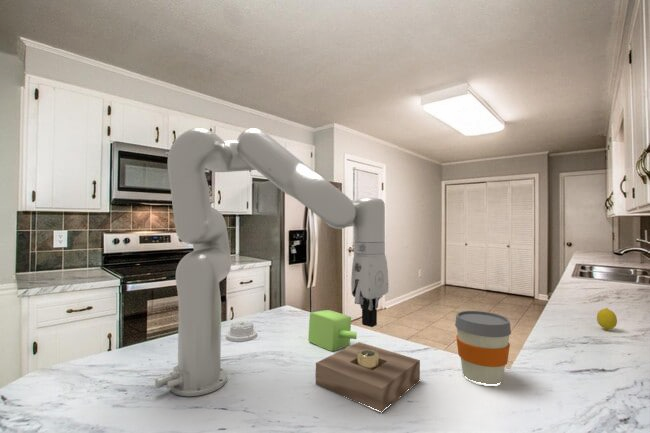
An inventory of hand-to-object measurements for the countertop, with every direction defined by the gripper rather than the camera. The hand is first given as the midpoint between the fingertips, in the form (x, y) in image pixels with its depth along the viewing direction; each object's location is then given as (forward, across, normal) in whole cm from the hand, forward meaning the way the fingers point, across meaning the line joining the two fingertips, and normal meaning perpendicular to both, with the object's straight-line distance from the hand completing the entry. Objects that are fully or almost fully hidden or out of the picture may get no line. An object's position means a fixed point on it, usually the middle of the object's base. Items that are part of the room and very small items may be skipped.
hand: (369, 325), depth 78 cm
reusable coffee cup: (+14, +21, -20) cm, 32 cm away
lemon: (+15, +90, -44) cm, 101 cm away
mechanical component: (+14, -2, +49) cm, 51 cm away
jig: (+14, 0, 0) cm, 14 cm away
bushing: (+14, 0, 0) cm, 14 cm away
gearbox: (+14, +14, +22) cm, 30 cm away
